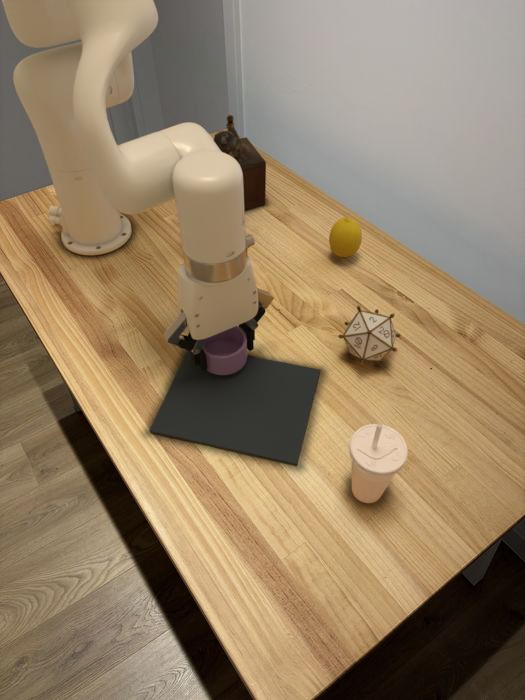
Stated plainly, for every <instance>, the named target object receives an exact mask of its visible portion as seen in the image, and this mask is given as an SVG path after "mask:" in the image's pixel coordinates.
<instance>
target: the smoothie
mask: <svg viewBox="0 0 525 700" xmlns="http://www.w3.org/2000/svg"><path fill="white" fill-rule="evenodd" d="M408 453H409V451H408V444H407V442H406V439H404V437H403V436H402V434H401V433H399V432H398V431H397V430H396V429H394V428H393V427H391V426H388V425H385V424H383V423H381V422H378V423H368V424H365V425H362V426H361V427H359V428H358V429H356V430H355V431H354V433H352V435H351V438H350V441H349V443H348V455H349V457H350V460H351V462H350V463H351V464H350V465H351V492H352V494H353V496H354V498H355V499H356V500H358V501H360V502H361V503H364V504H374V503H376V502H378V501H379V500H380V498H381V497H382V496H383V494H384V492H385V491H386V489H387V488H388V486H389V485H390V483H391V482H392V480H393V478H394V477H395V476H396V474H399V473H400V472H401V471H402V470H403V469H404V467H405V465H406V464H407V459H408Z"/></svg>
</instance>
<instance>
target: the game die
mask: <svg viewBox="0 0 525 700" xmlns="http://www.w3.org/2000/svg"><path fill="white" fill-rule="evenodd" d="M356 309H357V312H356V314H355V315H354V316H353V318H351V320H350V321H349V322H348V321H344V322H343V324H344V326H346V329H345V331H344V333H343V334H339V335H338V336H337V338H339V339H343V340H344V342H345V345H346V347H347V349H348V352H349V353H347V354H346V358H350V357H351V356H354V357H356V358H358V359H359V360H360V365H364V364H365V361H368V362H369V361H370V362H378V365H379V366H381V367H382V366H383V361H382V360H383V359H384V358H385V357H386V356H387V355H388V354H389V353H390V352H391V351H392V352H398V349H397V347H394V345H395V343H396V342H395V341H396V338H400V337H401V336H402V335H401V334H400V333H396V331H395V328H394V324H393V321H392V319H393V318H395V313H394V312H393V313H391V314H390V315H389V316H388V315H384V314H381V313H379V309H378V308H377V309H375V310H374V312H372V311H367V310H361V309H362V308H361V306H359V304H357V306H356Z"/></svg>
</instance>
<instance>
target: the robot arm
mask: <svg viewBox="0 0 525 700" xmlns="http://www.w3.org/2000/svg"><path fill="white" fill-rule="evenodd" d="M1 3H2V6H3V10H4V13H5V15H6V19H7V22H8V24H9V27H10V29H11V31H12V33H13V34H14V36H15V37H16V38H17V40H18V41H19V42H20V43H22V44H23V45H25V46H26V47H29V48H32V49H33V48H37V49H42V48H49V49H46V50H43V51H42V50H41V51H39V52H36V53H35V52H34V53H32V54H30V55H29V56H26V57H24V58H23V59H22V60H20V61H19V62H18V64H17V65H16V66H15V68H14V70H13V75H12V79H13V80H12V81H13V86H14V89H15V92H16V95H17V97H18V99H19V100H20V103H21V105H22V106H23V108H24V110H25V113H26V114H27V117H28V118H29V121H30V123H31V125H32V127H33V129H34V132H35V134H36V137H37V140H38V142H39V146H40V148H41V151H42V154H43V157H44V160H45V163H46V166H47V169H48V172H49V175H50V178H51V181H52V184H53V187H54V191H55V194H56V197H57V200H58V204H59V205H60V206H57V205H50V206H49V207H48V215H49V217H48V224H53V225H59V226H60V227H61V234H60V237H61V241H62V243H63V244H62V245H64V247H65V248H66V250H68V251H70V252H72V253H75V254H78V255H81V256H100V255H105V254H107V253H111V252H113V251H115V250H118V249H119V248H121V247H122V246H124V245H125V244H126V243H127V242H128V241H129V239H130V238H131V235H132V232H133V229H132V224H131V221H130V220H129V218H128V217H126V216H125V215H130V216H133V215H140V214H142V213H144V212H147V211H150V210H152V209H154V208H157V207H159V206H162V205H164V204H166V203H169V202H170V201H173V200H174V201H175V207H176V215H177V223H178V230H179V235H180V243H181V250H182V257H183V263H182V264H180V265H179V266H178V271H177V276H176V306H177V314H178V316H177V317H176V319H175V320H174V321H173V322H172V323H171V325H169V327H168V328H167V329H166V330H165V332H164V333H163V338H164V339H165V340H166V342H167V343H168V344H170V345H172V346H176V347H179V349H181V350H185V351H187V350H188V351H189V352H190V358H191V361H192V363H193V364H194V365H195V366H196V365H198V366H199V367H200V369H201V370H202V372H204V371H206V369H207V364H206V356H205V351H204V350H203V348H202V346H203V344H204V342H205V339H206V338H208V337H211V336H213V335H216V334H218V333H221V332H223V331H226V330H228V329H230V328H233V327H235V326H239V327H241V328H242V329H243V331H244V332H245V333H246V337H247V352H252V351H253V350H254V349H255V348H254V341H255V340H256V329H258V328H259V322H260V320H261V319H262V318H263V317H264V315H265V313H266V309H268V308H269V306H270V305H271V304H272V302H273V301H274V296H273V295H272V294H271V293H270V292H269V291H267V290H264V289H262V288H259V287H258V286H257V281H256V275H255V272H254V269H253V264H252V261H251V258H250V256H249V255H248V249H249V248H251V247H252V246H254V245H256V243H255V241H256V240H255V238H254V236H253V235H252V234H248V235H246V221H245V220H246V216H245V210H244V188H243V173H242V169H241V167H240V165H239V163H238V162H237V161H236V160H235V159H234V158H233V157H232V156H230V155H228V154H226V153H223V152H222V151H221V150H220V149H219V147H218V146H217V145H216V143H215V142H214V138H213V136H212V135H211V134H210V133H209V132H208V131H207V130H206V129H205V128H204V127H202V126H201V125H200V124H198V123H195V122H189V121H187V122H182V123H178V124H175V125H173V126H170V127H166V128H164V129H161V130H158V131H154V132H151V133H148V134H146V135H143V136H140V137H137V138H134V139H132V140H128V141H126V142H123V143H119V144H117V142H116V140H115V137H114V134H113V132H112V130H111V126H110V123H109V120H108V113H107V109H109V108H112V107H115V106H117V105H120V104H123V103H125V102H127V101H128V100H129V99H131V97H132V96H133V93H134V89H135V72H134V71H135V70H134V64H133V63H134V62H133V53H132V51H134V50H135V49H136V48H137V47H139V46H140V45H141V44H142V43H143V42H144V41H146V40H147V39H148V38H149V37H150V36H151V34H153V32H154V31H155V30H156V28H157V26H158V23H159V14H158V9H157V7H156V3H155V1H154V0H1ZM79 40H81V41H79ZM76 41H78V42H76ZM71 42H74V43H71ZM68 43H71V44H68ZM63 44H65V45H63ZM60 45H61V46H60ZM55 46H57V47H55ZM50 47H53V48H50ZM186 329H187V331H186V334H182V333H183V332H184V331H185V330H186Z"/></svg>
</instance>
